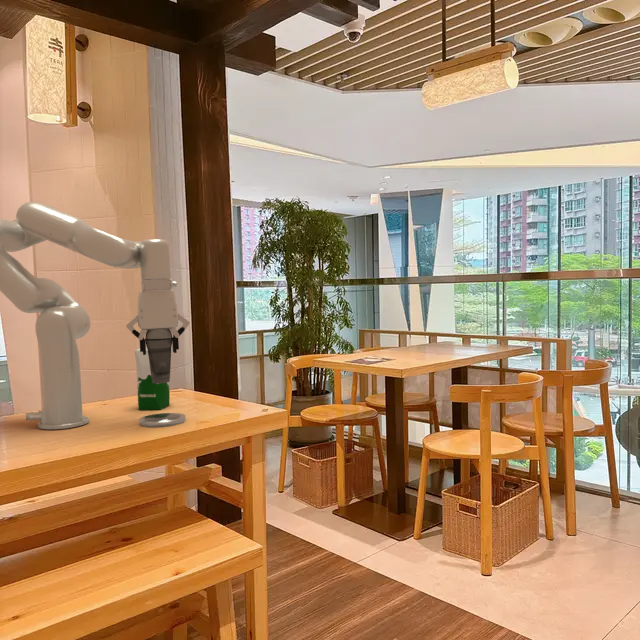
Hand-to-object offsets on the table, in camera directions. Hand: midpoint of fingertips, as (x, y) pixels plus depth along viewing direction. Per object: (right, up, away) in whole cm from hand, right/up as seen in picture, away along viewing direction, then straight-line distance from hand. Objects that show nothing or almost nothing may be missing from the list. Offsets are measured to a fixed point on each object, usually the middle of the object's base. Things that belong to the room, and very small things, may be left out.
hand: (159, 353), depth 158 cm
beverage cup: (0, -8, +1) cm, 8 cm away
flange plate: (+1, -18, +1) cm, 18 cm away
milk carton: (-7, -18, +21) cm, 29 cm away
